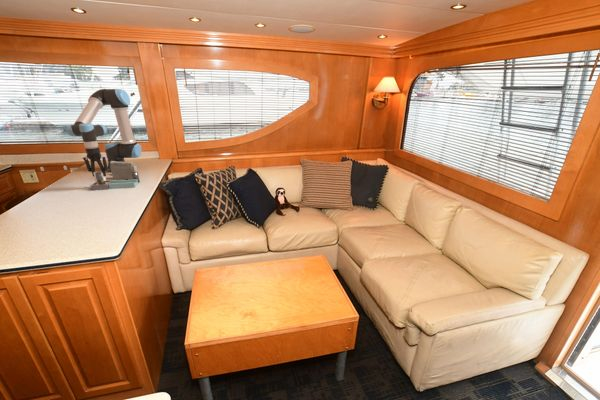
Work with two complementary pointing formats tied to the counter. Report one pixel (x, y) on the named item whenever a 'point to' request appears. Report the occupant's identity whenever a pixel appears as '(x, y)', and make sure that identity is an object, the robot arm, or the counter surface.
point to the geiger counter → (122, 170)
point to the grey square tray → (101, 186)
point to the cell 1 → (99, 178)
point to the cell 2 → (135, 175)
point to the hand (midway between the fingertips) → (100, 180)
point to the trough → (123, 184)
